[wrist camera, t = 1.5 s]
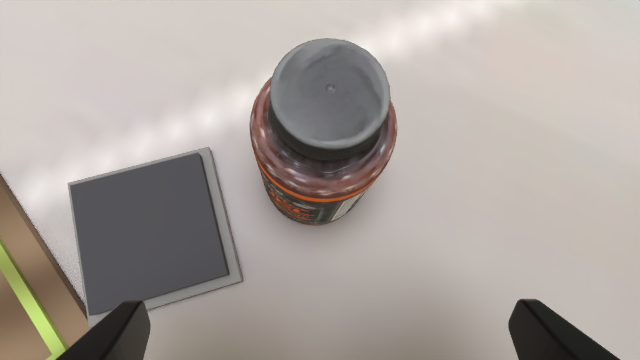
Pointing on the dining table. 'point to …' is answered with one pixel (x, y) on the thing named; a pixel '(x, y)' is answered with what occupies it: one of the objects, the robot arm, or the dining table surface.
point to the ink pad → (152, 233)
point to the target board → (33, 291)
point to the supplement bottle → (323, 129)
